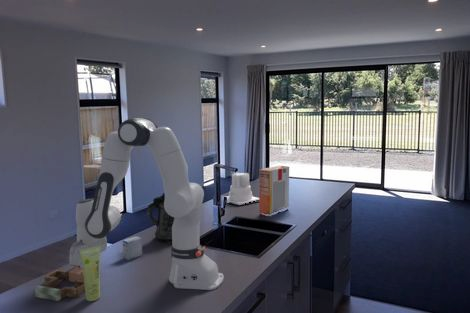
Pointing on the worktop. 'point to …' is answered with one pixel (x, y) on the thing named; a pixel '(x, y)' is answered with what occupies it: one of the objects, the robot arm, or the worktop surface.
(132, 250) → the medicine box
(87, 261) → the tube
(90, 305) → the worktop surface
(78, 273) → the terracotta block
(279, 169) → the pasta box
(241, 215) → the worktop surface
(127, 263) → the worktop surface
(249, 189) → the recessed light fixture
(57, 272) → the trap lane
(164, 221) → the beer stein
